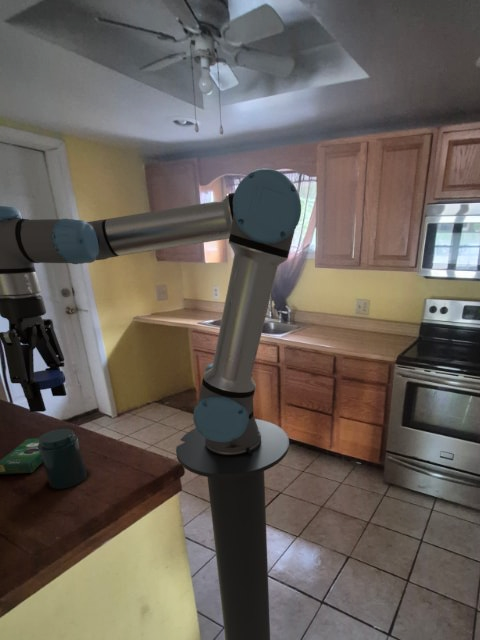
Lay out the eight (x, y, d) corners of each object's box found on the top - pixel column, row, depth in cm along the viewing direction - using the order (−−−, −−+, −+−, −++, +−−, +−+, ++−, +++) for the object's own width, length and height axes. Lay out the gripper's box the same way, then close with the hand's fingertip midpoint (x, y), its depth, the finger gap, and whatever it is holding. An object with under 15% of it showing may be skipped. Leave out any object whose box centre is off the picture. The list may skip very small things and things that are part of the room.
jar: (93, 476, 88) (82, 433, 83) (60, 493, 82) (46, 447, 77) (76, 466, 91) (64, 424, 87) (43, 481, 85) (29, 437, 81)
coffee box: (28, 447, 100) (-3, 475, 87) (25, 438, 98) (-7, 465, 86) (60, 446, 100) (33, 473, 88) (57, 436, 99) (30, 463, 87)
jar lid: (30, 379, 82) (28, 371, 81) (70, 376, 83) (68, 368, 83) (15, 392, 75) (12, 383, 74) (58, 388, 76) (56, 380, 76)
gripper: (30, 289, 81) (56, 386, 90) (-44, 303, 62) (-1, 424, 71) (65, 289, 82) (88, 385, 91) (3, 303, 63) (40, 423, 72)
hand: (49, 402), depth 81 cm, fingers closed on jar lid, 8 cm apart
